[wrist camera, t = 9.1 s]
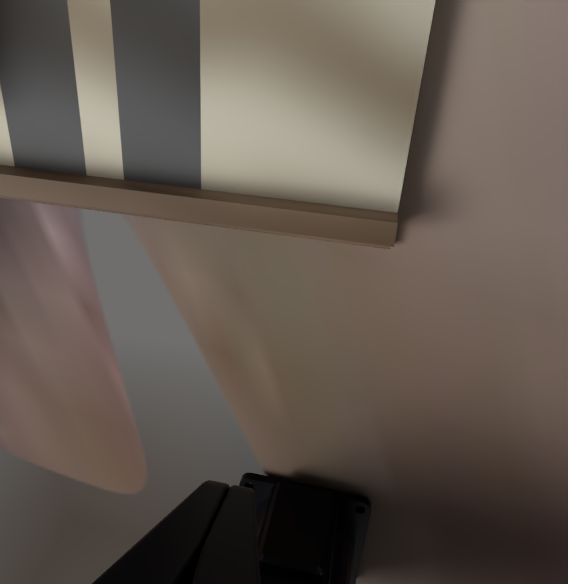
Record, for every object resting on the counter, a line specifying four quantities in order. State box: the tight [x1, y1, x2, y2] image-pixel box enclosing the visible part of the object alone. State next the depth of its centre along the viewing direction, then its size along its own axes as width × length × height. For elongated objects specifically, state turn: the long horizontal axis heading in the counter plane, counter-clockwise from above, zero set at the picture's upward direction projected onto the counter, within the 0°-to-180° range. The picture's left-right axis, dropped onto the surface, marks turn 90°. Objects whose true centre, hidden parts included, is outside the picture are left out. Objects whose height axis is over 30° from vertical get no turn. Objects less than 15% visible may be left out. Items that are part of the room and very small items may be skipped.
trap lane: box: [0, 0, 436, 249], centre depth 16 cm, size 12×22×2 cm, turn 86°
